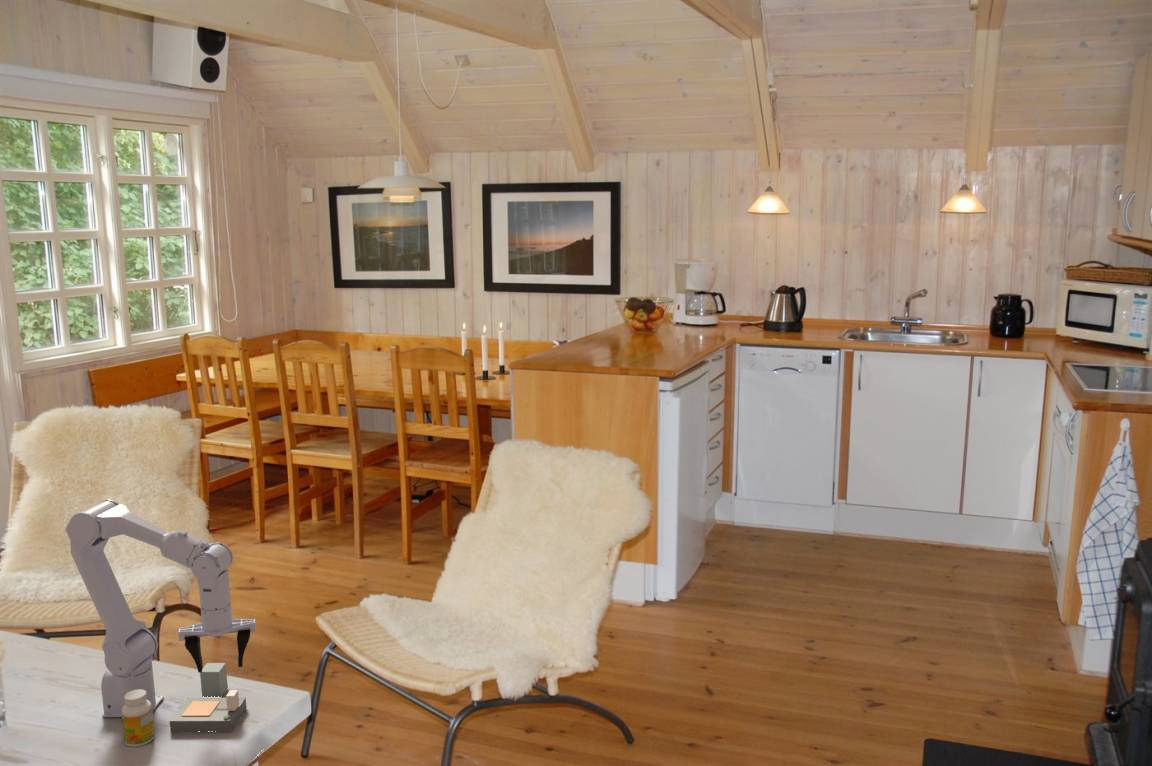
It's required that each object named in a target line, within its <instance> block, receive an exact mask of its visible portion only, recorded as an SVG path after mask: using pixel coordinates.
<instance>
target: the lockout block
mask: <svg viewBox="0 0 1152 766" xmlns="http://www.w3.org/2000/svg"><path fill="white" fill-rule="evenodd" d="M199 676H200V689H201V698H202V697H203V696H204V697H207V696H208V697H211V696H212V697H214V696H215V697H218V696H219V697H221V696H222V695H223V693H224V692H225V691H226V692H227V690H228V689H229V686H228V674H227V664H226V662H207V663H206V664H205V665H204V666H203V669H202V672H199ZM227 688H228V689H227ZM226 689H227V690H226ZM226 692H225V693H226ZM225 693H224V694H225ZM223 696H224V695H223ZM223 696H222V697H223ZM222 697H221V698H222Z"/></svg>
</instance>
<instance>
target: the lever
mask: <svg viewBox="0 0 1152 766" xmlns="http://www.w3.org/2000/svg"><path fill="white" fill-rule="evenodd" d="M225 698H226V702H227V711H235V710H236V709H237V707H238V706H239V698H240V696H239V689H230V690H229V691H228V693H227V694H226V695H225Z"/></svg>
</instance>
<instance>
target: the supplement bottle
mask: <svg viewBox="0 0 1152 766" xmlns="http://www.w3.org/2000/svg"><path fill="white" fill-rule="evenodd" d="M124 702H125V705H124V706H123V708H122V717H121V718H122V728H123V738H124V739H123V740H124V743H125V745H126V746H127V747H128V746H129V747H134V748H137V747H141V746H145V745H147V744H149V743H150V742H152V741H153V740H154V738H155V736H156V735H155V723H154V715H153V714H154V713H153V711H152V704H151V702H150V701H149V700H147V693H146V691H145V690H142V689H137V690H133V691H130V692H128V693H126V694H125V696H124Z"/></svg>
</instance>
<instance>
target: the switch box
mask: <svg viewBox="0 0 1152 766" xmlns="http://www.w3.org/2000/svg"><path fill="white" fill-rule="evenodd" d="M246 708H247V697H239V706H238V707H237V709H236V710H235V711H227V702H226V697H221V698H202V697H187V699H186V700H185V701H184V702H183V704H182V705H181V706H180V707H179V708H178V710H176V713H174V715H173V716H172V718H171V719H170V720H169V728H170V733H171V732H194V733H232V732H233V730H234V729H235V727H236V725H238V723H239V721H240V719H241V718H242V716H243V715H244V713H245V712H246V710H247V709H246ZM244 711H245V712H244ZM242 714H243V715H242ZM240 717H241V718H240ZM238 720H239V721H238ZM198 731H200V732H198ZM208 731H210V732H208ZM211 731H213V732H211ZM215 731H216V732H215ZM231 731H232V732H231Z"/></svg>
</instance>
